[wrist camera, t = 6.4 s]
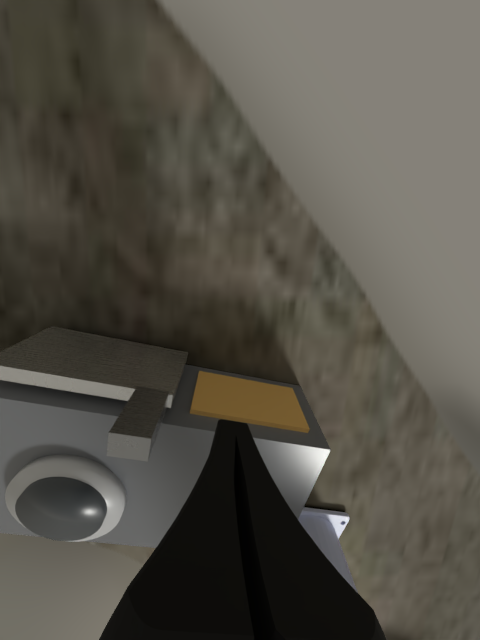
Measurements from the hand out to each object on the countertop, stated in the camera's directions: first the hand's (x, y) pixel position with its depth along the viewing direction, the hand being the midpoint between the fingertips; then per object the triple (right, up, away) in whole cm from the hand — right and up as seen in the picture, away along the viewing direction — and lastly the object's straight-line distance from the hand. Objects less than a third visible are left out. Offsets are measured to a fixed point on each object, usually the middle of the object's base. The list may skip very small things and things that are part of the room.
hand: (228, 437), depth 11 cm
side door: (-8, +4, +5) cm, 10 cm away
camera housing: (-5, -3, +8) cm, 10 cm away
